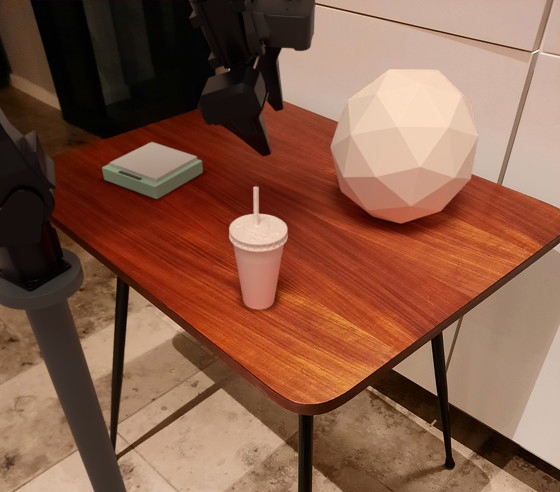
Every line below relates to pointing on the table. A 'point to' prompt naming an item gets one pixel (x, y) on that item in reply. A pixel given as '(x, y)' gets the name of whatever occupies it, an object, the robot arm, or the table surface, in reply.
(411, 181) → the ball
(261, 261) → the smoothie
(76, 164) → the table surface
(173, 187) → the scale
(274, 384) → the table surface
